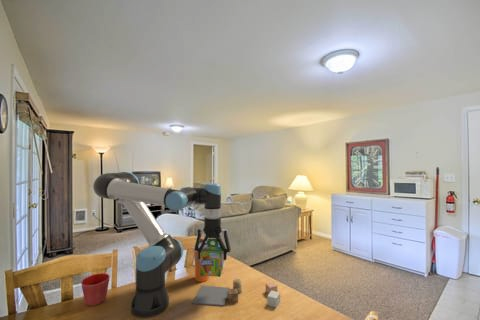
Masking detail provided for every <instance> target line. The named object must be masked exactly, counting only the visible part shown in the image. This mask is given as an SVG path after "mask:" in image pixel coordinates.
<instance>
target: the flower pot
mask: <svg viewBox="0 0 480 320" xmlns="http://www.w3.org/2000/svg"><path fill="white" fill-rule="evenodd" d="M80 283H81V284H80V285H81V289H82V295H83V299H84V303H85V304H84V305H86V306H87V305H94V306H96V305H95V304H98V305H99V303H100V304H102V303H103V302H105V301H106V299H107V294H108V289H109V283H110V274H108V273H105V272H104V273H103V272H101V273H95V274H92V275H88V276H86V277H84V279H82V280H81V282H80ZM101 302H102V303H101Z"/></svg>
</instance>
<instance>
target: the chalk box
mask: <svg viewBox="0 0 480 320" xmlns="http://www.w3.org/2000/svg"><path fill="white" fill-rule="evenodd" d="M207 241H208V243H207V244H205V245H204V246H203V248H202V250H201V273H200V275H201V276H209V277H221V276H222V274H223V273H222V272H223V269H224V268H222V252H223V251H222V249H221V247H220V245H219V243H218V241H217V240H216V238H208V239H207ZM211 242H214V243H211Z"/></svg>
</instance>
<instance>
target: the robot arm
mask: <svg viewBox="0 0 480 320" xmlns="http://www.w3.org/2000/svg"><path fill="white" fill-rule="evenodd" d="M93 192H94V193H95V194H96V195H97V196H98V197H100V198H102V199H106V200H107V199H108V200H113V201H114V200H116V202H117V204H121V205H123V207H124V208H125V210H126V212H128V214H129V216H130V217H131V218H132V220H133V221H134V223H135V225H136V226H137V229H138V230H139V231H140V233H141V235H143V237H144V239H145V241H146V242H147V243H148V247H145V248H143V249H141V250H140V251H139V252H138V253H137V254H136V259H135V291H134V294H133V297H132V301H131V304H130V311H131V314H132V315H133V316H135V317H138V318H151V317H154V316H157V315H159V314H161V313H163V312H164V311H166V309H168V307H169V305H170V297H169V292H168V290H167V288H166V273H167V272H168V271H169V270H171V269H172V268H173V267H174V266H176V265H177V264H178V263H179V262H180V261H181V259H182V257H183V255H184V248H183V247H184V246H183V244H182V243H181V241H180V240H179V239H176V238H173V237H172V236H171V234H170V233H166V232H165V231H164V229H163V228H162V227H161V225H160V224H159V222H158V221H157V219H156V217H155V216H154V215H153V212H151V210H150V209H149V207H148V205H147V204H151V205H156V206H161V207H166V208H168V209H169V210H170V211H180V210H183V209H184V208H186V207H188V206H192V205H195V204H196V205H204V206H203V207H204V212H203V213H204V214H203V215H204V221H203V222H204V223H203V224H204V227H203V228H201V227H200V228H199V229H197V236H196V241H195V243H194V245H195V248H194V247H193V251H194V250H195V251H198V258H199V259H200V267H201V250H202V248H203V246H204V245H205V243H206V241H208V239H216V240H217V241H218V244H219V245H220V247H221V249H222V251H223V252H222V268H223V269H224V268H225V261H227V259H228V258H227V254H228V253H230V252H231V245H230V241H229V236H228V233H229V232H228V229H227V228H225V229H223V228H222V218H221V216H222V208H221V207H222V187H221V184H219V183H217V182H216V183H211V182H210V183H205V184H204V187H193V186H192V187H191V186H188V187H181V188H180V189H173V188H167V187H162V186H161V187H160V186H156V185H154V186H153V185H150V184H149V185H147V184H142V183H140V180H139V178H138V176H136V175H135V174H134V173H132V172H126V171H120V172H107V173H102V174H100V175H99V176H98V177H97V178H95V180H94V182H93ZM203 233H204V234H205V236H204V238H203V239H204V240H203V242H202V244H201V246H200V248H199V243H200V239H202V234H203ZM221 233H222V235H223V239H224V242H225V244H224V242H223V240H222V238H221V237H222V236H221V235H220V234H221Z"/></svg>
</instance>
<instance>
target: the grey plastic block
mask: <svg viewBox="0 0 480 320" xmlns="http://www.w3.org/2000/svg"><path fill="white" fill-rule="evenodd" d="M280 302H281V292H280V291H277V292H276V291H272V290H271V292H270V293H269V295H268V294H267V306H269V307H272V308H273V307H274V308H278V307H279V304H280Z"/></svg>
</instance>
